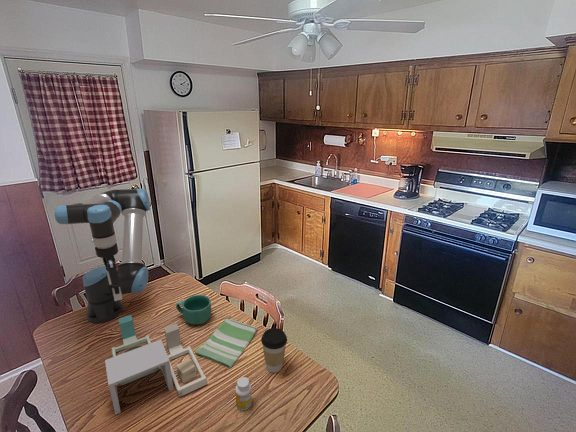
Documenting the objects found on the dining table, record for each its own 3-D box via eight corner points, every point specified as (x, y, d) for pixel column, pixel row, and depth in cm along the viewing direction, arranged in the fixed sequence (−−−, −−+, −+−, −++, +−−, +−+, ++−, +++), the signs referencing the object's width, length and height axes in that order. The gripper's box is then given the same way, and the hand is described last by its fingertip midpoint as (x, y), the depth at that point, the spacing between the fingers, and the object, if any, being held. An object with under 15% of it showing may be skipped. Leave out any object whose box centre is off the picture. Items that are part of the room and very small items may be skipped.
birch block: (177, 375, 118) (176, 365, 116) (189, 368, 121) (188, 358, 119) (183, 383, 114) (182, 373, 112) (196, 376, 117) (195, 366, 116)
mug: (216, 313, 152) (215, 297, 149) (203, 330, 141) (201, 313, 138) (186, 307, 156) (184, 291, 153) (171, 323, 145) (169, 306, 142)
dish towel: (193, 355, 128) (193, 350, 127) (226, 321, 148) (225, 316, 147) (230, 369, 121) (230, 364, 120) (259, 331, 141) (259, 326, 140)
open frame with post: (160, 347, 130) (157, 329, 127) (184, 338, 136) (182, 321, 132) (179, 397, 108) (176, 377, 105) (207, 384, 114) (205, 365, 111)
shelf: (111, 388, 112) (104, 360, 107) (165, 366, 121) (161, 339, 117) (115, 414, 102) (108, 385, 98) (173, 388, 112) (169, 360, 108)
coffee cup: (290, 360, 125) (290, 330, 120) (281, 379, 116) (281, 347, 111) (267, 354, 128) (267, 324, 123) (257, 372, 119) (256, 341, 114)
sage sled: (110, 339, 134) (106, 322, 131) (145, 328, 141) (142, 311, 138) (118, 386, 112) (114, 367, 109) (159, 369, 119) (156, 351, 116)
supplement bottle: (236, 396, 109) (235, 375, 106) (252, 395, 110) (251, 374, 107) (235, 411, 104) (234, 389, 101) (251, 409, 105) (250, 388, 102)
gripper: (91, 235, 128) (101, 280, 135) (98, 260, 109) (110, 310, 117) (111, 231, 132) (120, 275, 139) (122, 255, 113) (131, 303, 121)
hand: (115, 291), depth 128 cm, fingers open, 13 cm apart
